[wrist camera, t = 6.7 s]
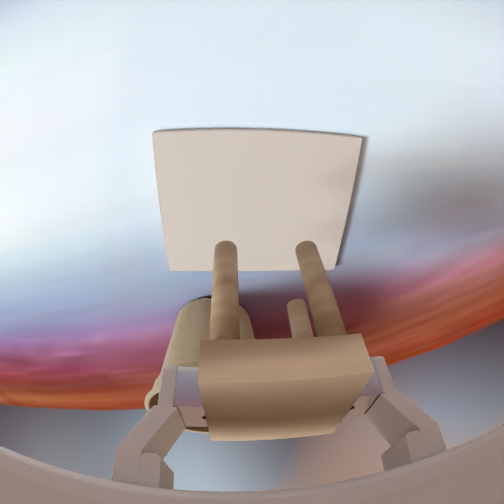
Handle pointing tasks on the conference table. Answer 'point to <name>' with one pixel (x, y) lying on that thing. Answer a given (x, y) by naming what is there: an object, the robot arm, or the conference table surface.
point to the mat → (253, 194)
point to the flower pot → (192, 343)
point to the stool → (279, 361)
